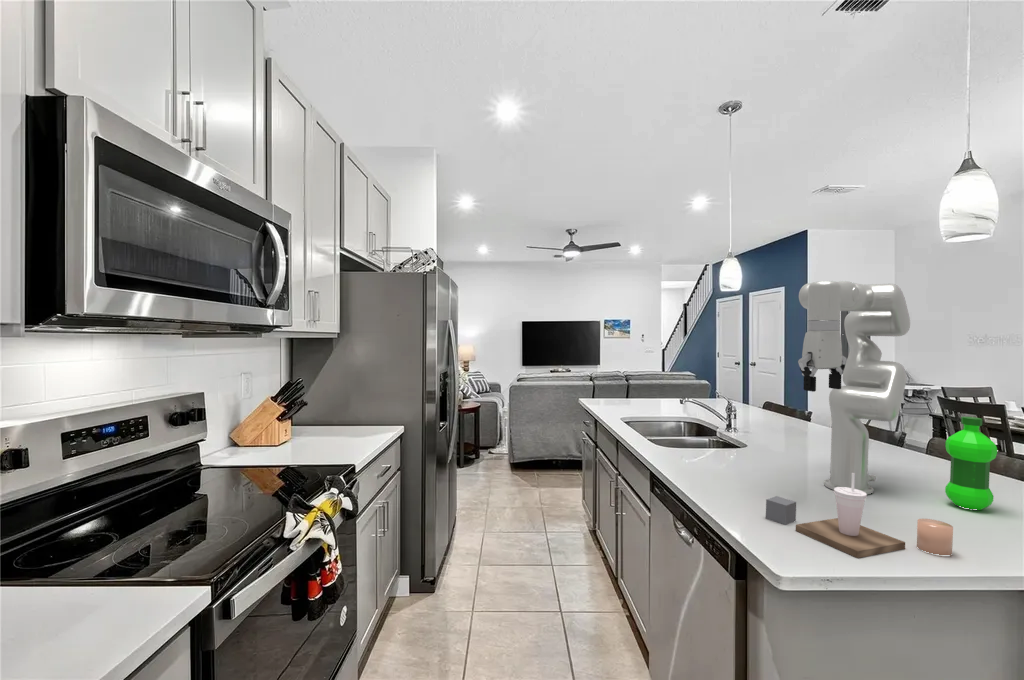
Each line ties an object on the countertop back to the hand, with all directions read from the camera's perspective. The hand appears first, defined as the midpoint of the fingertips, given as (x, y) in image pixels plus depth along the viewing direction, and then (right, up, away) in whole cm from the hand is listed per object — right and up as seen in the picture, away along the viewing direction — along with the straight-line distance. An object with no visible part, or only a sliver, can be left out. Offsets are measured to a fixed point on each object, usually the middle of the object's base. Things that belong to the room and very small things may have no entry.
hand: (822, 389), depth 135 cm
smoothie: (-7, -31, -20) cm, 38 cm away
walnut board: (-7, -33, -21) cm, 39 cm away
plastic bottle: (+42, -33, +2) cm, 54 cm away
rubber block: (-16, -32, -9) cm, 37 cm away
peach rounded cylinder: (+9, -33, -26) cm, 43 cm away
